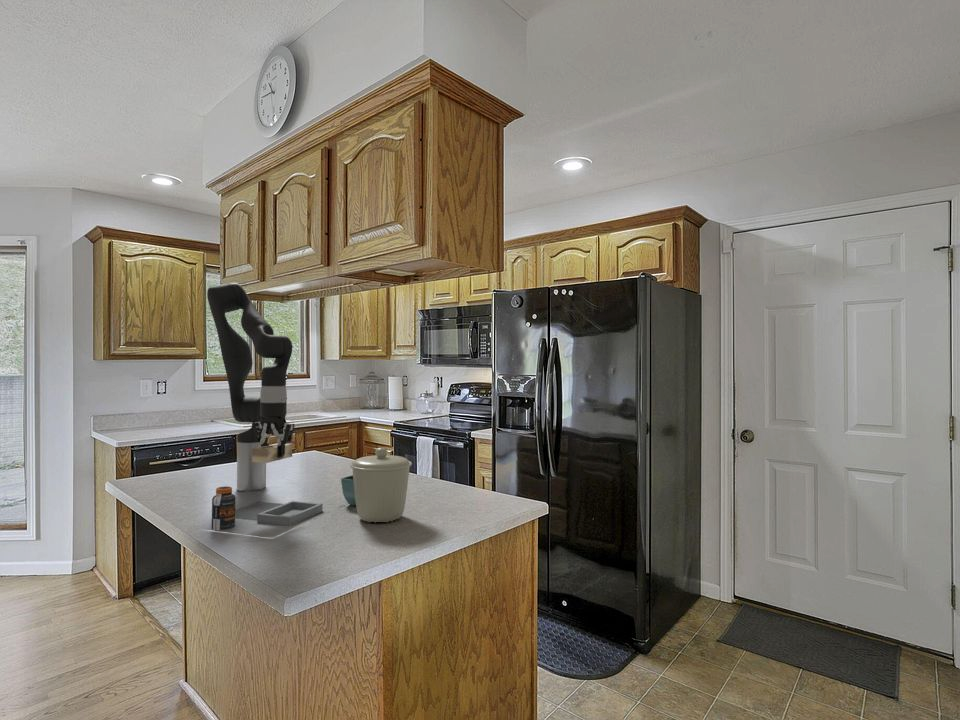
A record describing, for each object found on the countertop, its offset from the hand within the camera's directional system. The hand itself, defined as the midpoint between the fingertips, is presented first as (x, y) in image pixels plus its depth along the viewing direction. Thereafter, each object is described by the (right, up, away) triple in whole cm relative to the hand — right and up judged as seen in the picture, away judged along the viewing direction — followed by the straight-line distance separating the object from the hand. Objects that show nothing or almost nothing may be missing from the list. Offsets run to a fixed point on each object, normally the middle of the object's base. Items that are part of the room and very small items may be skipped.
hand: (272, 456), depth 167 cm
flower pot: (+24, -18, +12) cm, 32 cm away
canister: (+33, -18, -3) cm, 38 cm away
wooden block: (0, -1, 0) cm, 1 cm away
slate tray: (+7, -18, -3) cm, 19 cm away
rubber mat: (-6, -17, +3) cm, 19 cm away
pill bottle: (-8, -18, -14) cm, 24 cm away
